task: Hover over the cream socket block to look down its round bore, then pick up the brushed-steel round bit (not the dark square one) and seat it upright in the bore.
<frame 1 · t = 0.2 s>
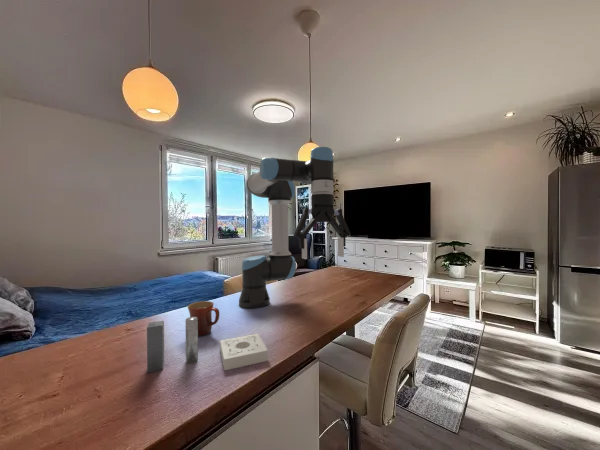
hand: (323, 257, 83), 28 cm above the table, fingers open, 13 cm apart
square bit: (156, 368, 68), on the table
mug: (204, 334, 89), on the table
round bit: (192, 360, 71), on the table
bore block: (243, 355, 74), on the table
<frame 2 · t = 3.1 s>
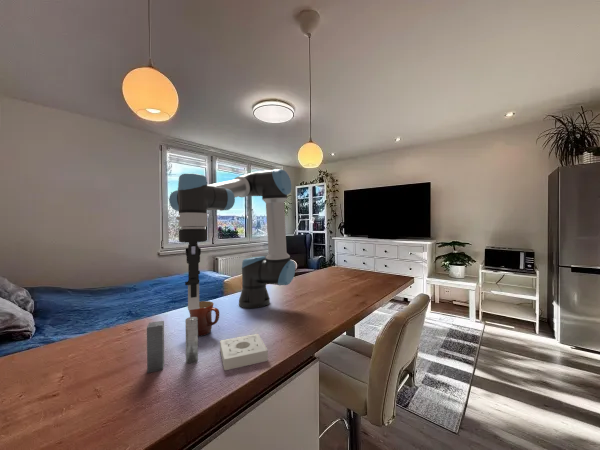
hand: (193, 302, 71), 17 cm above the table, fingers open, 13 cm apart
nothing on the table moved.
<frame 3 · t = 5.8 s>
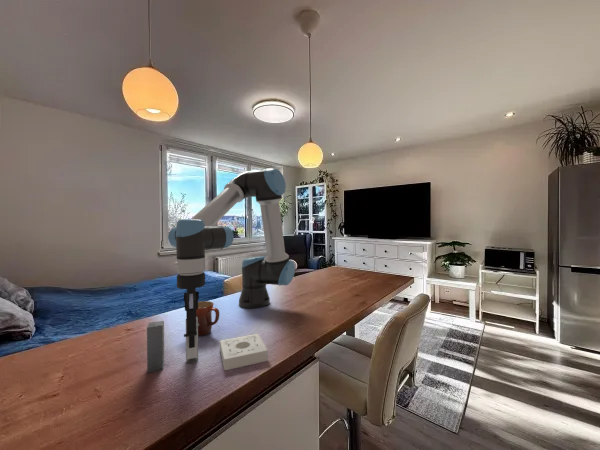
hand: (192, 354, 71), 2 cm above the table, fingers closed on round bit, 3 cm apart
round bit: (192, 360, 71), on the table, touching gripper
everything else where it was.
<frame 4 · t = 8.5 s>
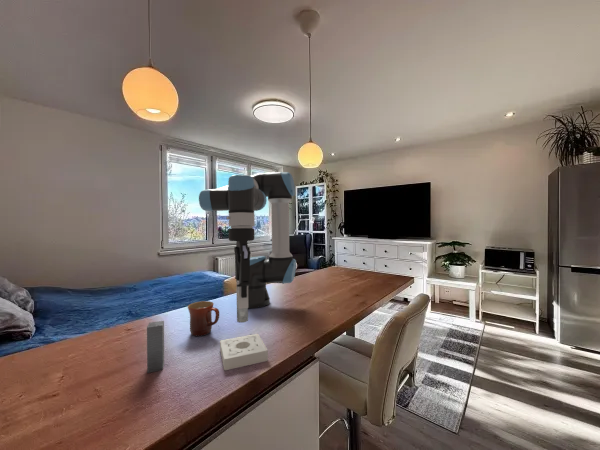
hand: (242, 306, 74), 15 cm above the table, fingers closed on round bit, 3 cm apart
round bit: (242, 320, 74), point 10 cm above the table, touching gripper
everything else where it was.
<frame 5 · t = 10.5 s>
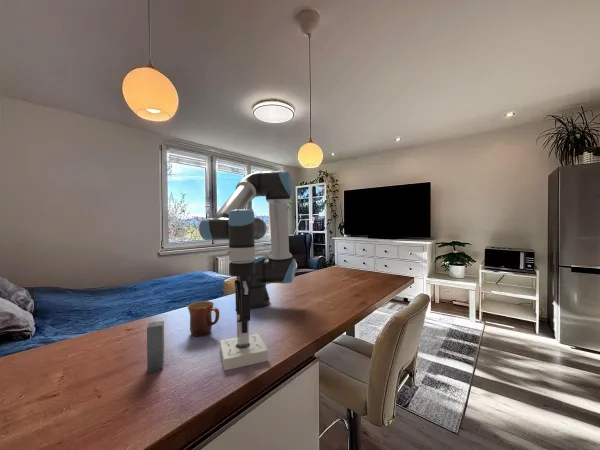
hand: (242, 339, 74), 5 cm above the table, fingers closed on round bit, 3 cm apart
round bit: (242, 354, 74), resting in bore block, touching gripper
everything else where it was.
when the fingers open (4 cm above the table, at t = 11.6 s): round bit stays where it is, resting in bore block.
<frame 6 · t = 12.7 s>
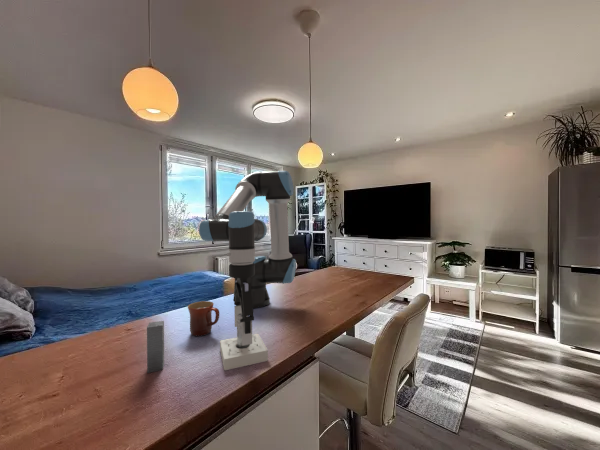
hand: (242, 334, 74), 6 cm above the table, fingers open, 13 cm apart
round bit: (242, 355, 74), resting in bore block
everything else where it was.
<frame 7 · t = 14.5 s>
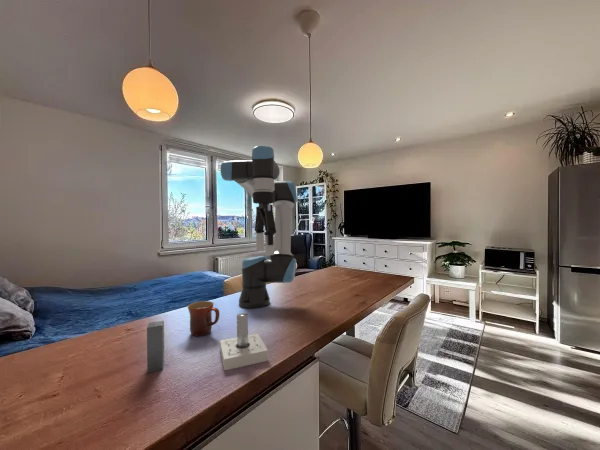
hand: (264, 252, 87), 29 cm above the table, fingers open, 13 cm apart
nothing on the table moved.
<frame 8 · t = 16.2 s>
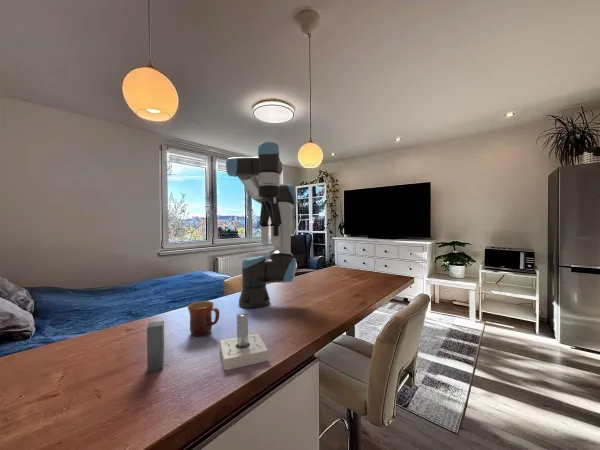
hand: (269, 244, 90), 32 cm above the table, fingers open, 13 cm apart
nothing on the table moved.
at the end: round bit 0.1 cm off-centre on the bore block, point 0.0 cm above the bore block's base; round bit tilted 0°; square bit moved 0.0 cm from its start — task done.
